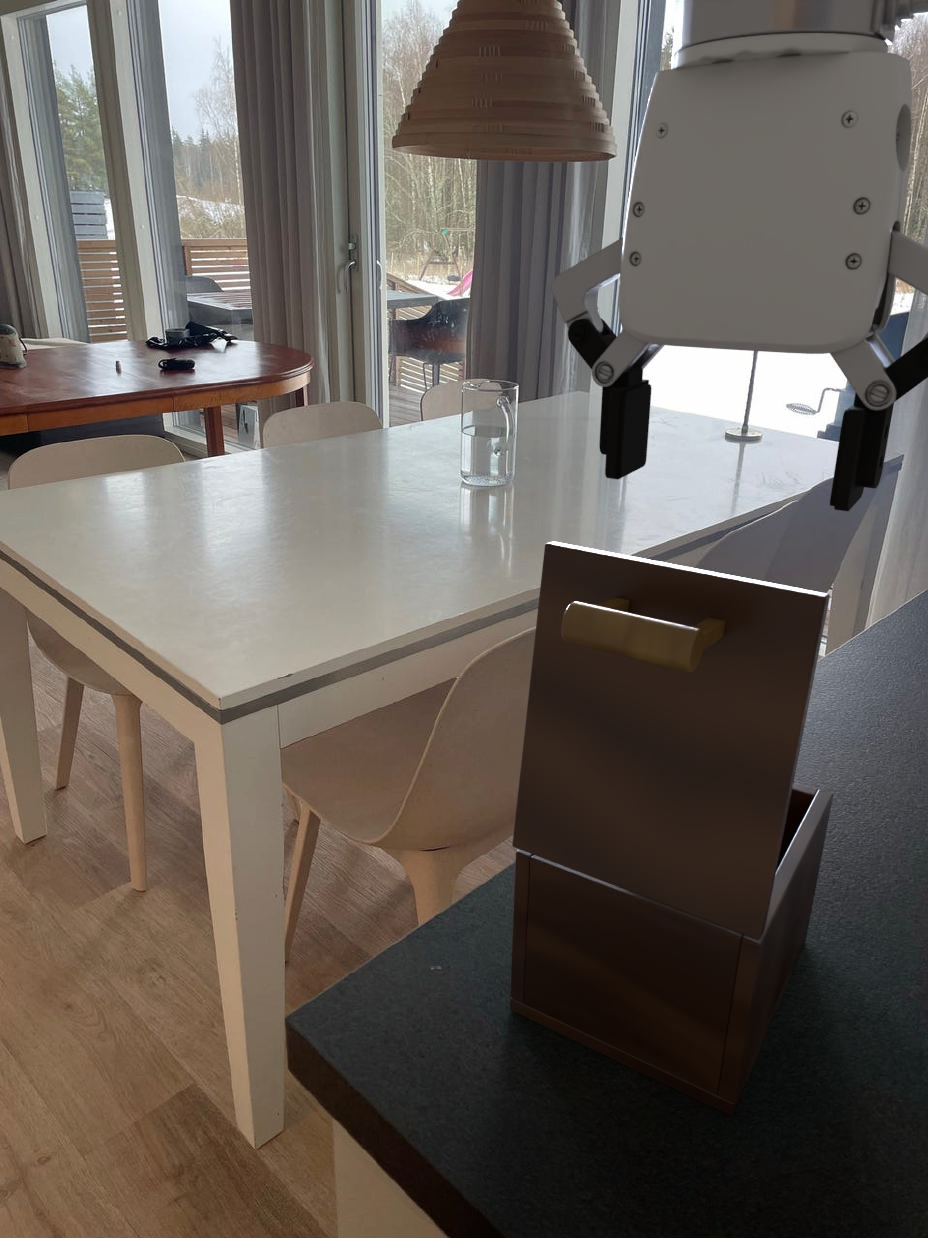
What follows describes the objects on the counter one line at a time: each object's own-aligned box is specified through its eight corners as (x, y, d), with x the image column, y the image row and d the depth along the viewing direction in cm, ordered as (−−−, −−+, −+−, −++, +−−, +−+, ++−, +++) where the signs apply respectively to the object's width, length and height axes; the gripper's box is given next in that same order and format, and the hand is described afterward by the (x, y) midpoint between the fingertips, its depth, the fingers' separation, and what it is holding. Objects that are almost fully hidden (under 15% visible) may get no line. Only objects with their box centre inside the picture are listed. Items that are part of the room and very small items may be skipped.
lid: (552, 540, 40) (489, 557, 36) (830, 593, 35) (797, 621, 30) (519, 840, 44) (458, 889, 40) (764, 932, 38) (725, 1001, 34)
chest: (616, 870, 58) (628, 733, 55) (805, 940, 53) (833, 793, 49) (509, 1010, 48) (515, 851, 44) (732, 1117, 42) (760, 945, 38)
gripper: (1061, 14, 32) (961, 495, 39) (603, 61, 41) (585, 448, 47) (1053, -34, 26) (936, 542, 33) (519, 33, 35) (512, 479, 42)
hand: (729, 486), depth 40 cm, fingers open, 9 cm apart
